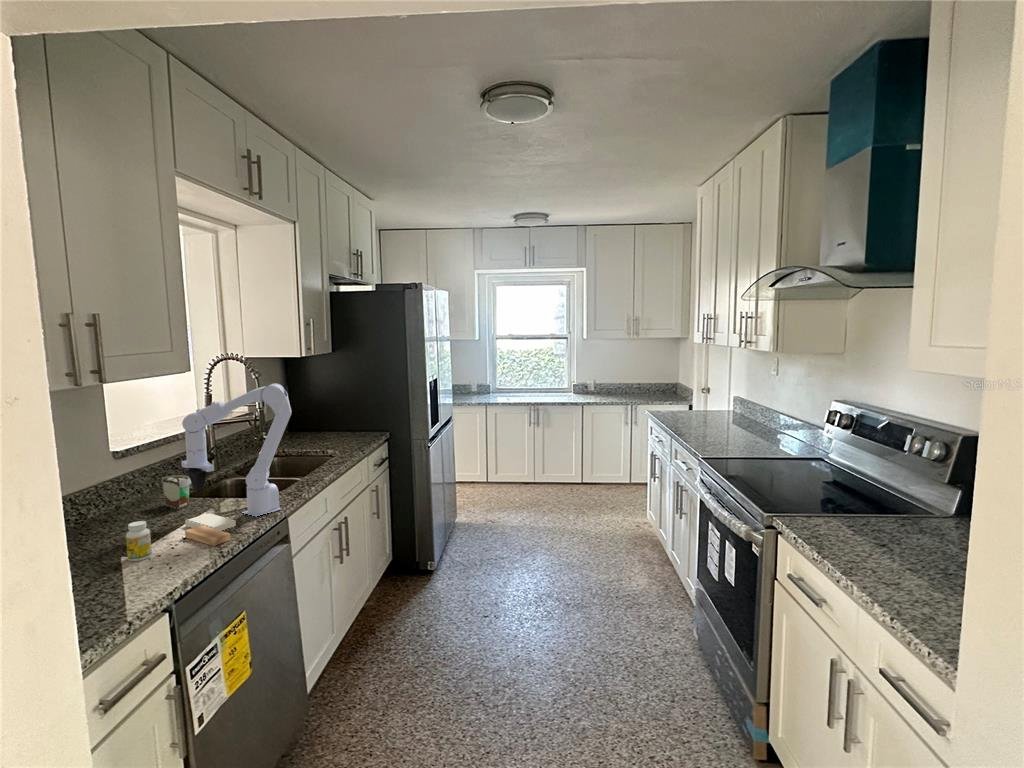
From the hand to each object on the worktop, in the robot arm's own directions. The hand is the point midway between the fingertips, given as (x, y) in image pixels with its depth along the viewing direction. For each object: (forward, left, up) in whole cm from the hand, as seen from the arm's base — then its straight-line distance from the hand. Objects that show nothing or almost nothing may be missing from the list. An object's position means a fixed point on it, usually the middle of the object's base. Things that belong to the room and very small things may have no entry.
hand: (198, 490), depth 172 cm
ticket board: (+3, +10, -9) cm, 14 cm away
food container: (-5, -20, -10) cm, 23 cm away
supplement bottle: (+26, +16, -10) cm, 32 cm away
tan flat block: (+9, +19, -9) cm, 23 cm away
